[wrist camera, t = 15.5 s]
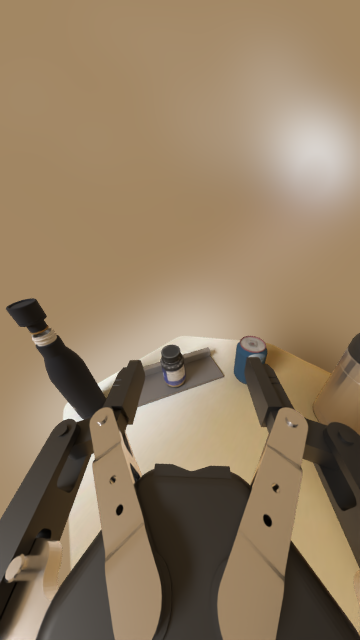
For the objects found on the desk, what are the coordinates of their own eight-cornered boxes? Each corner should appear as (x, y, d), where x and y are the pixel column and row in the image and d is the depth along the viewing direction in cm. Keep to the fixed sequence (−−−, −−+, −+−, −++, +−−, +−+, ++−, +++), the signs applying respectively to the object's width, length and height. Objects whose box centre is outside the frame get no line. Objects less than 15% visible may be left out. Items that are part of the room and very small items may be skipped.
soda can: (260, 390, 41) (269, 356, 35) (231, 382, 44) (235, 350, 37) (260, 369, 46) (268, 336, 40) (234, 364, 49) (238, 332, 42)
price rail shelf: (207, 353, 54) (207, 346, 52) (223, 377, 45) (224, 369, 44) (128, 378, 48) (125, 371, 47) (130, 409, 40) (126, 402, 38)
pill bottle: (165, 371, 48) (159, 343, 42) (186, 370, 48) (182, 341, 42) (163, 389, 43) (156, 360, 37) (186, 388, 43) (183, 359, 37)
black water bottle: (110, 394, 44) (53, 293, 28) (101, 419, 39) (24, 311, 23) (87, 396, 44) (18, 297, 28) (75, 421, 39) (-19, 315, 23)
